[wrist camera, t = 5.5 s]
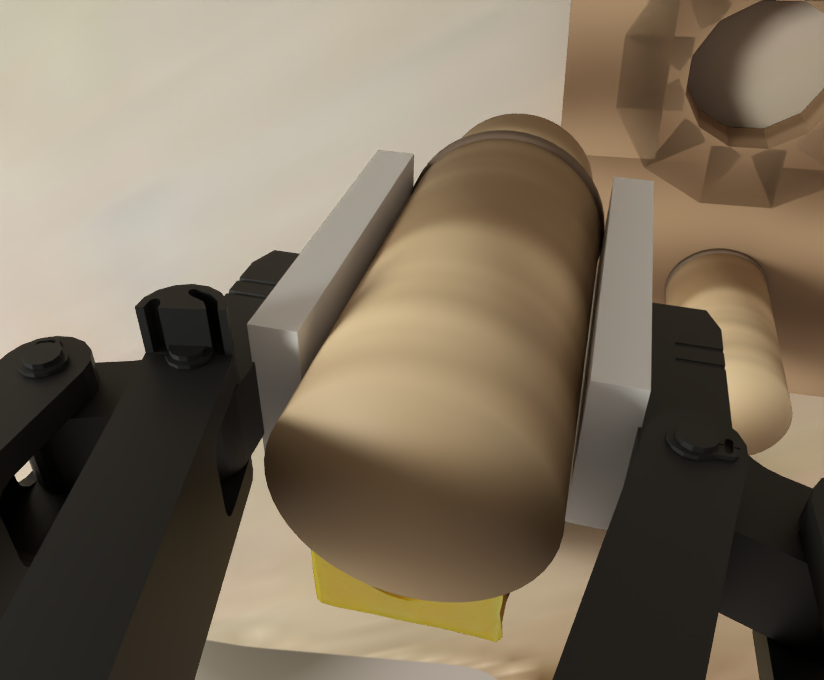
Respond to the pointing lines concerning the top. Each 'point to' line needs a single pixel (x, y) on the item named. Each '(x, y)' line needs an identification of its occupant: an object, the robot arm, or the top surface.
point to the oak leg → (453, 377)
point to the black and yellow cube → (408, 604)
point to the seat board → (710, 196)
